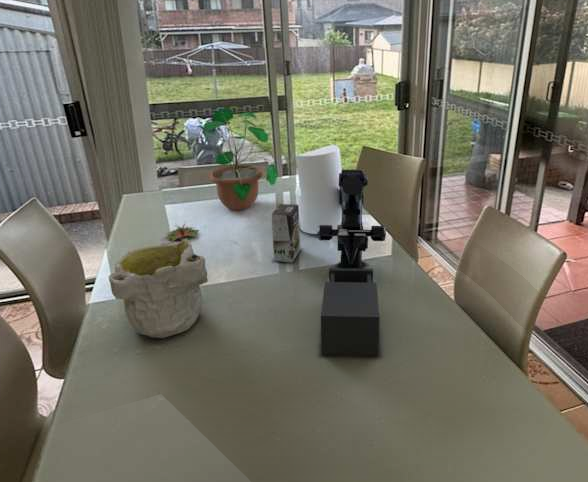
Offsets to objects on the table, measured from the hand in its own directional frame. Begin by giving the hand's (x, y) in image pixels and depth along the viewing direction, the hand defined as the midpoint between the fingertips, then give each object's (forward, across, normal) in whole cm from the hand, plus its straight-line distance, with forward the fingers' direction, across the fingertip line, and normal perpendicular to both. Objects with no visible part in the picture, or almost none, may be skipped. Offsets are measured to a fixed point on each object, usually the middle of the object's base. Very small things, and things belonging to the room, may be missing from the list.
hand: (351, 263), depth 119 cm
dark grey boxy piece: (+11, 0, 0) cm, 11 cm away
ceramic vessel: (+16, +46, +3) cm, 49 cm away
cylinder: (-24, +11, -36) cm, 44 cm away
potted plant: (-39, +45, -52) cm, 79 cm away
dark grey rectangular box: (+20, 0, +7) cm, 21 cm away
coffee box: (-8, +21, -21) cm, 30 cm away
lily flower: (-17, +60, -30) cm, 69 cm away
